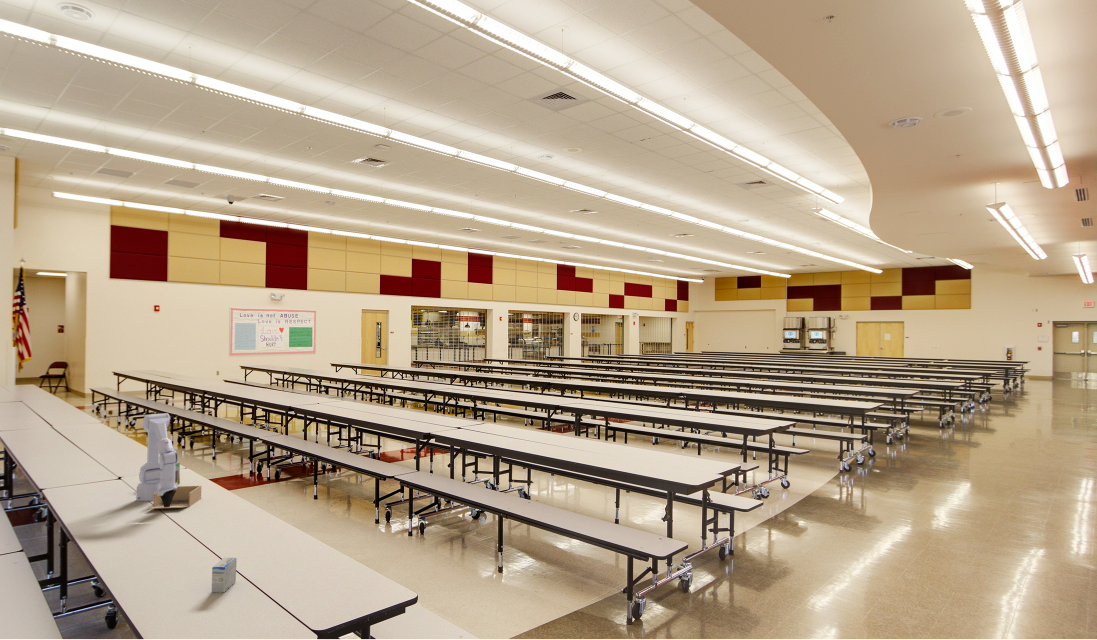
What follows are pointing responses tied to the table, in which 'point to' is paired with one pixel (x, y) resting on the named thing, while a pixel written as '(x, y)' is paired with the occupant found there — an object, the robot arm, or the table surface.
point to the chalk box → (177, 473)
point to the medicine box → (223, 575)
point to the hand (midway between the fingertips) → (167, 506)
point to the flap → (168, 507)
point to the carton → (181, 496)
